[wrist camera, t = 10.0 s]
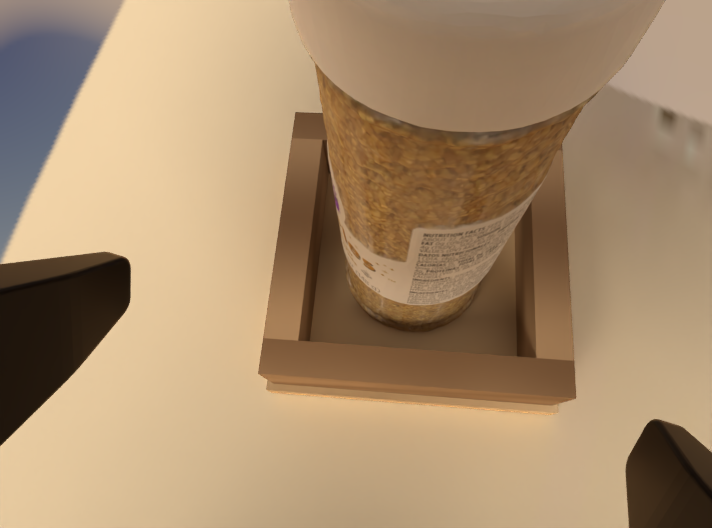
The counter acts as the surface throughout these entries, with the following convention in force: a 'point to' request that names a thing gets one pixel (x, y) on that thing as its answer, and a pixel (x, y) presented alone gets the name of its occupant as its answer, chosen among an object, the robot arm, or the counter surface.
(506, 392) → the holder
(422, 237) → the sprinkles bottle
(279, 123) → the counter surface
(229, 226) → the counter surface
